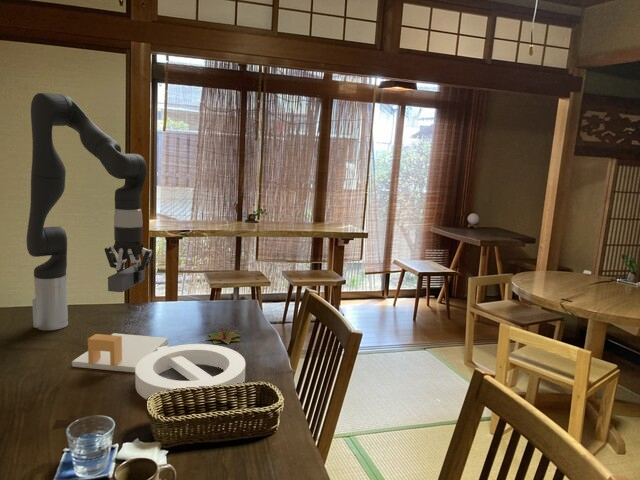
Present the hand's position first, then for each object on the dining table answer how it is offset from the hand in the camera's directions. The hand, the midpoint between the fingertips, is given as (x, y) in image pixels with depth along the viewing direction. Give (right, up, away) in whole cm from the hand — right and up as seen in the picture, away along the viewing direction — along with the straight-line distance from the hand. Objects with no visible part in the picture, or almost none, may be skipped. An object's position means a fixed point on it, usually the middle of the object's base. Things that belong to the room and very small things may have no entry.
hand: (129, 282), depth 142 cm
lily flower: (+24, -20, +18) cm, 36 cm away
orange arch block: (-3, -21, -8) cm, 23 cm away
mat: (-2, -21, +2) cm, 21 cm away
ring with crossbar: (+21, -25, -12) cm, 35 cm away
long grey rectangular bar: (0, -1, -1) cm, 1 cm away
